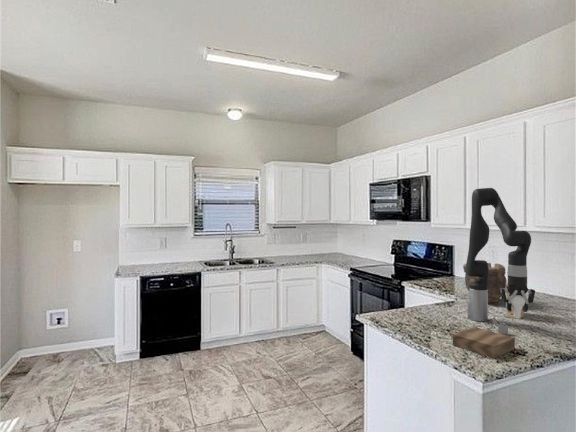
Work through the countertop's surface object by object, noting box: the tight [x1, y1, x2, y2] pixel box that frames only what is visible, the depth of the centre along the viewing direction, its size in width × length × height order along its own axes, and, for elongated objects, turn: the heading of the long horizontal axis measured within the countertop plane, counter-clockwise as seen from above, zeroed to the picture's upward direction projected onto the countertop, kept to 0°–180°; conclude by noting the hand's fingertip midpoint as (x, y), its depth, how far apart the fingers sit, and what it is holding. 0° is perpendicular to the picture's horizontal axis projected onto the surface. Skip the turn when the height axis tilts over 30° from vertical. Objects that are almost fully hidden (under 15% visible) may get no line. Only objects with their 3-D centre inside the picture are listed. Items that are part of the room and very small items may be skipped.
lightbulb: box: [511, 295, 525, 318], centre depth 161 cm, size 6×6×11 cm
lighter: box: [490, 315, 509, 336], centre depth 176 cm, size 7×2×8 cm, turn 60°
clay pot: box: [462, 262, 508, 304], centre depth 238 cm, size 26×26×25 cm
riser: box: [452, 326, 516, 359], centre depth 158 cm, size 18×18×5 cm
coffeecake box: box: [505, 281, 525, 320], centre depth 206 cm, size 15×7×20 cm, turn 137°
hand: (517, 311), depth 161 cm, fingers closed on lightbulb, 5 cm apart
